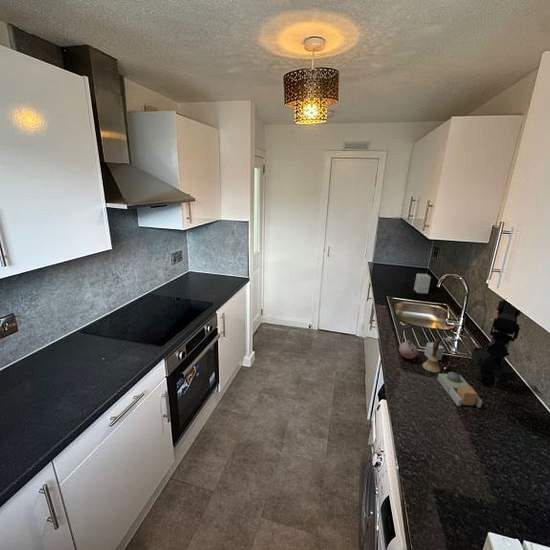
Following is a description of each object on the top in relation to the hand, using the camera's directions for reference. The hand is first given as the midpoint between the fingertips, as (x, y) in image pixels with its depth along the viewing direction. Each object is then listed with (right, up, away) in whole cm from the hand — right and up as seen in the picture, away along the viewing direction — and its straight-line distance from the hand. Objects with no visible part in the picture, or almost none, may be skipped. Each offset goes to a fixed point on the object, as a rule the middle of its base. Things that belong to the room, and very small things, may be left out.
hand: (488, 380), depth 123 cm
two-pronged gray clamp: (-6, -9, +11) cm, 15 cm away
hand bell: (-9, -3, +28) cm, 30 cm away
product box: (-3, -1, +37) cm, 37 cm away
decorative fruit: (-18, -1, +35) cm, 40 cm away
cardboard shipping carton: (-6, -11, +5) cm, 14 cm away
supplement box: (+38, +29, +135) cm, 144 cm away
